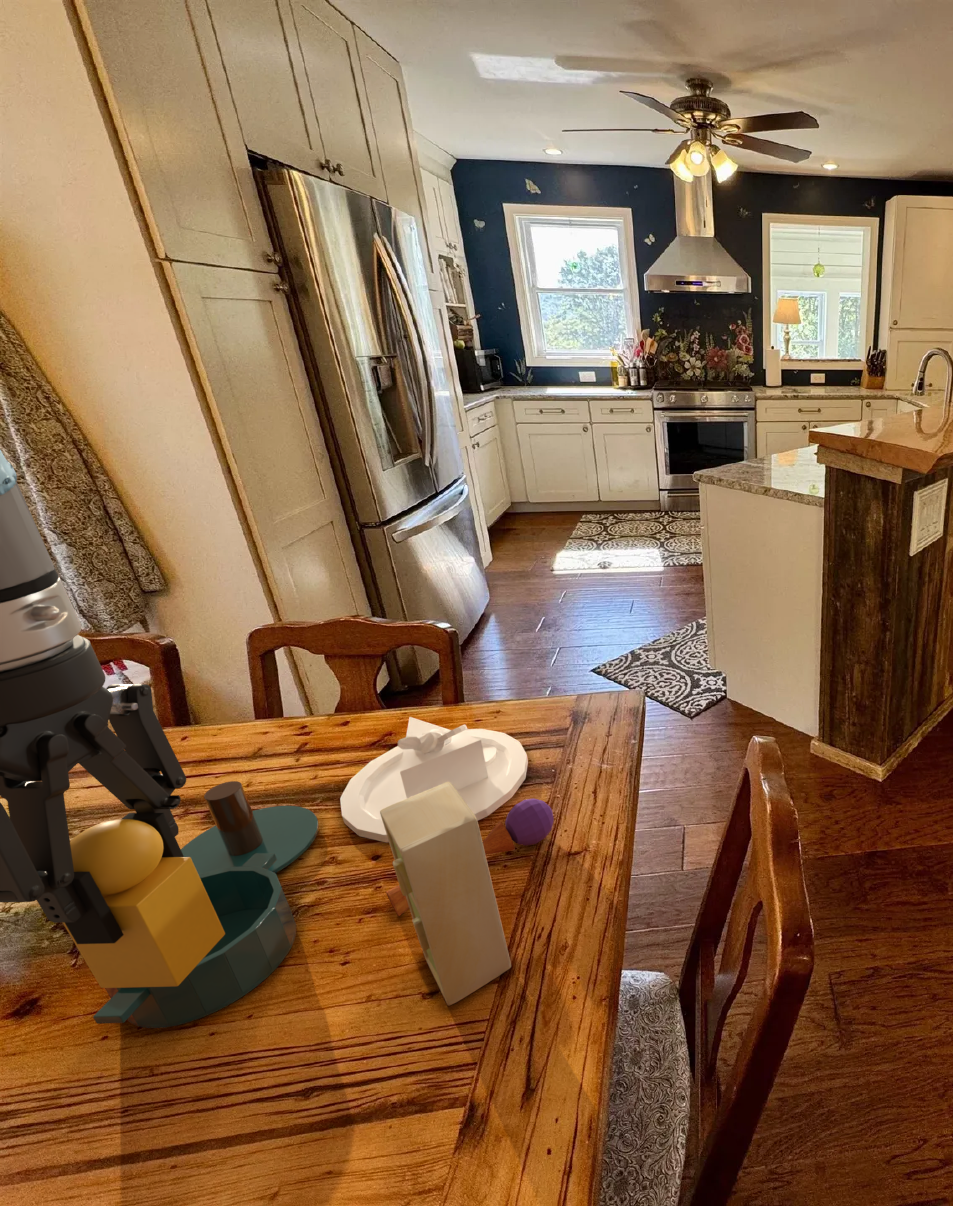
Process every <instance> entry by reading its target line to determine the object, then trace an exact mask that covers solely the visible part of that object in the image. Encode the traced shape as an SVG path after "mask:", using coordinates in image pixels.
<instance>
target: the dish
mask: <svg viewBox="0 0 953 1206" xmlns="http://www.w3.org/2000/svg"><path fill="white" fill-rule="evenodd" d="M528 766H529V759H528V754H527V752H526V750H525V748H524V747H523V745H522V743H521V742H520V741H519V740H517V739H515V738H514V737H512V736H511V735H508V734H507V733H505V732H501V731H496V730H491V729H485V728H468V727H467V725H466V723H465V724H462V725H459V726H458V727H455V728H454V729H449V728H446V727H443V726H440V725H436V724H434V723H430V722H427V721H424V720H421V719H418V718H415V717H412V716H409V718H408V723H407V728H406V734H405V737H402V738H400V739H398V740H397V746H395V747H393V748H391V749H390V750H388V751H386V752H385V753H383V754H381V755H379V756H378V757H375V758H374V759H372V760H370V761H369V762H368V763H367V764H366V765H365V766H364V767H363V768H361V769H360V770H358V772H357V773H356V774H355V775H353V776H352V777H351V779H349V781H348V783H347V785H346V787H345V789H344V790H343V792H342V794H341V796H340V798H339V801H340V811H341V817H342V821H343V823H344V825H346V826H347V827H348V828H349V829H350V830H352V831H353V832H354V833H355V834H356V835H357V836H358V837H361V838H364V839H369V840H374V841H378V842H382V843H389V840H388V837H387V834H386V831H385V827H384V824H383V821H382V818H381V814H380V811H381V810H382V809H384V808H386V807H388V806H390V805H393V804H395V803H397V802H400V801H402V800H405V799H407V798H410V797H412V796H414V795H417V794H419V793H421V792H424V791H426V790H429V789H431V788H434V787H436V786H438V785H441V784H443V783H446V782H450V783H451V784H452V785H453V786H454V787H455V789H456V790H457V792H458V793H459V794H460V796H461V797H462V798H463V800H464V801H465V802H466V804H467V805H468V806H469V808H470V809H471V810H472V812H473V813H474V815H475V816H476V818H477V821H480V820H482V819H485V818H487V817H488V816H490V815H491V814H493V813H494V812H495V811H496V810H497V809H499V808H500V807H502V806H504V804H505V803H507V802H508V801H509V800H510V799H513V797H514V795H515V794H516V792H517V791H518V789H519V788H520V787H521V785H522V784H523V783H524V781H525V780H526V777H527V771H528Z"/></svg>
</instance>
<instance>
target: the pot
mask: <svg viewBox="0 0 953 1206" xmlns="http://www.w3.org/2000/svg"><path fill="white" fill-rule="evenodd" d="M276 860H277V858H276V855H275V854H274V853H268V854H253V855H252V856H251V857H250V858H249V860H248V861H247V862H246V863H245V864H244V865H243V866H242V867H229V868H225V869H221V870H217V871H212V872H208V873H204V874H200V875H199V877H200V879H201V881H202V884H203V886H204V888H205V890H206V892H207V895H208V897H209V899H210V901H211V903H212V906H213V908H214V910H215V912H216V914H217V916H218V919H219V921H220V923H221V925H222V927H223V930H224V932H225V935H224V936H223V937H222V938H221V939H220V940H219V942H218V943H217V944H216V945H215V946H214V947H213V948H212V949H211V950H210V951H209V953H208V954H207V955H206V956H205V957H204V958H203V959H202V960H201V961H200V962H199V964H198V965H197V966H196V967H195V968H194V969H193V970H192V971H191V972H190V973H189V975H188V976H187V977H186V978H185V979H184V980H183V981H182V982H181V983H180V984H179V986H171V987H127V988H104V990H105V992H106V993H107V995H108V997H109V1000H108V1001H107V1002H105V1004H104V1005H103V1006H102V1007H101V1008H100V1009H99V1010H98V1011H96V1013H95V1014H94V1015H93V1016H92V1018H93V1020H94V1022H95V1023H96V1024H97V1025H98V1024H99V1025H101V1024H102V1025H105V1024H124V1023H125V1022H126V1021H127V1022H128V1023H129V1024H131V1025H134V1026H137V1027H139V1028H145V1029H163V1028H165V1029H166V1028H170V1027H177V1026H181V1025H184V1024H187V1023H191V1022H194V1021H197V1020H200V1019H202V1018H205V1017H207V1016H209V1015H211V1014H214V1013H216V1012H219V1011H220V1010H222V1009H225V1008H227V1006H230V1005H231V1004H233V1003H235V1002H237V1001H238V1000H239V999H241V998H243V997H244V996H246V995H247V994H249V993H250V992H251V991H253V990H254V989H255V988H256V987H258V986H259V985H260V984H262V983H263V982H264V981H265V980H266V979H268V977H270V976H271V975H272V974H273V973H274V972H275V970H277V969H278V967H279V966H280V965H281V964H282V963H283V961H284V960H285V959H286V957H287V956H288V954H289V952H290V951H291V949H292V947H293V945H294V942H295V940H296V936H297V922H296V920H295V918H294V915H293V912H292V910H291V906H290V905H289V901H288V900H287V896H286V894H285V892H284V889H283V887H282V885H281V883H280V880H279V877H278V875H277V873H273V872H271V871H268V869H269V868H270V867H271V865H272V864H273V863H274V862H275V861H276Z"/></svg>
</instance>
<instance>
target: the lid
mask: <svg viewBox="0 0 953 1206" xmlns="http://www.w3.org/2000/svg"><path fill="white" fill-rule="evenodd" d="M203 796H204V797H203V799H204V801H205V803H206V805H207V808H208V810H209V812H210V815H211V817H212V819H213V822H214V824H215V825H214V826H212V827H210V828H208V829H206V830H205V831H204V832H202V833H200V834H198V835H197V836H196V837H194V838H193V839H191V840H190V841H188V842H187V843H186V844H185V845H184V846H183V847H182V848H180V849H181V851H182V853H183V856H184V857H190V858H191V859H192V862H193V864H194V866H195V868H196V870H197V873H198V875H200V874H204V873H208V872H212V871H217V870H221V869H225V868H229V867H242V866H243V865H244V864H245V863H246V862H247V861H248V860H249V858H250V857H251V856H252V855H253V854H268V853H274V854H275V855H276V858H277V860H276V861H275V862H274V863H273V864H272V865H271V867H270V868H269V869H268V871H271V872H273V873H275V874H277V873H279V872H280V871H282V870H284V869H285V868H287V867H288V866H290V865H291V864H292V863H293V862H295V861H296V860H298V859H299V858H300V857H301V856H303V854H304V853H305V852H306V851H307V850H308V849H309V848H310V847H311V846H312V844H313V842H314V841H315V839H316V838H317V835H318V833H319V829H320V823H319V820H318V817H317V815H316V814H315V813H314V812H313V811H312V810H310V809H308V808H307V807H302V806H299V805H277V806H268V807H263V808H259V809H254V810H253V809H252V807H251V804H250V802H249V799H248V796H247V794H246V791H245V789H244V787H243V784H242V783H241V782H240V781H236V780H232V781H225V782H222V783H219V784H217V785H215V786H213V787H211V788H210V789H208V790H207V791H206V792H205V793H204V795H203Z"/></svg>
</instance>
